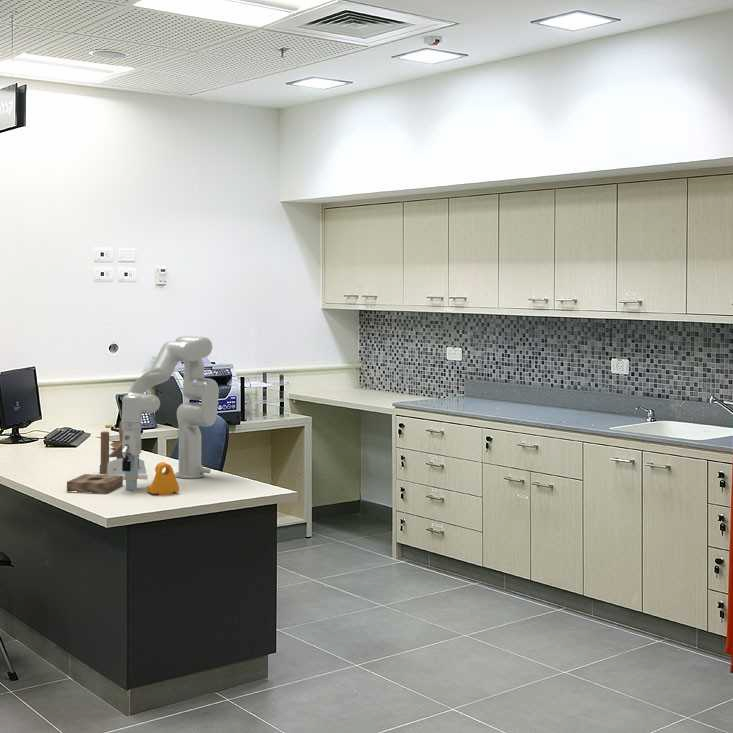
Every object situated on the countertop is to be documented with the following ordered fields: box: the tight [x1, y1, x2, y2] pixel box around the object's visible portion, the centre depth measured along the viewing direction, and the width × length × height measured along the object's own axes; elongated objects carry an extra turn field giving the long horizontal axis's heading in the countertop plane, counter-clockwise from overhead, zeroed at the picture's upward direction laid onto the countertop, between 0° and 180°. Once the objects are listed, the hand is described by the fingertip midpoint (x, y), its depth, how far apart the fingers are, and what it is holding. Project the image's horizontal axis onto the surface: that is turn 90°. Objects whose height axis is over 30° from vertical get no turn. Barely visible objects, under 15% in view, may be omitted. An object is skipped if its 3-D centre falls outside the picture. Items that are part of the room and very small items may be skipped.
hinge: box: [106, 458, 148, 480], centre depth 426 cm, size 17×5×10 cm, turn 117°
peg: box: [124, 455, 138, 491], centre depth 402 cm, size 4×4×14 cm
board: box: [66, 473, 124, 495], centre depth 402 cm, size 16×18×4 cm
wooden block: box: [99, 430, 122, 475], centre depth 438 cm, size 4×11×18 cm, turn 112°
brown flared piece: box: [109, 419, 123, 449], centre depth 504 cm, size 15×12×15 cm
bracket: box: [146, 462, 180, 496], centre depth 397 cm, size 11×7×12 cm, turn 121°
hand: (130, 469), depth 402 cm, fingers open, 9 cm apart
